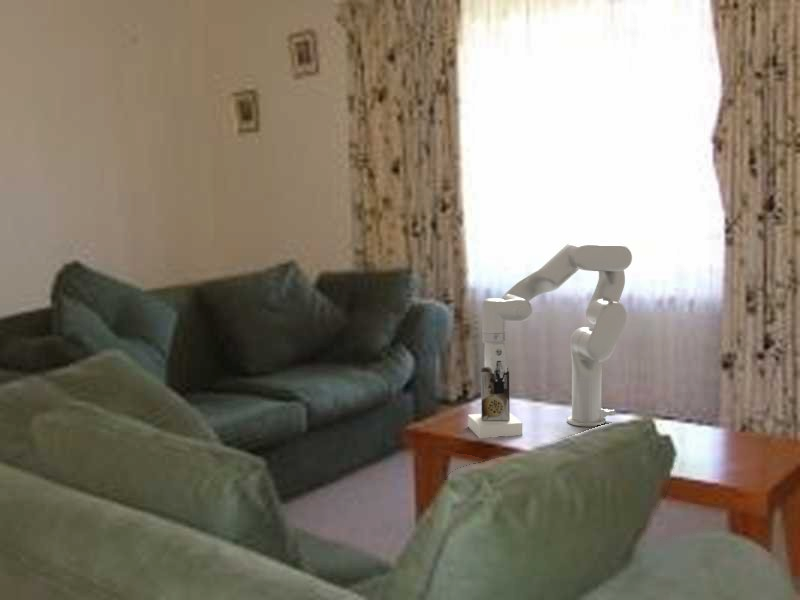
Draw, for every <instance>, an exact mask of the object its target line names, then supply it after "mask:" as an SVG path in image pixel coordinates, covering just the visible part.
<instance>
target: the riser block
mask: <svg viewBox="0 0 800 600" xmlns="http://www.w3.org/2000/svg"><path fill="white" fill-rule="evenodd" d="M467 424H468V428H469V429H470V430H471V431H472V432H473V433H474V434H475V436H477V437H478V439H489V437H492V438H499V437H498V436H505V437H515V436H516V435H518V436H523V422H522V421H520V419H519V418H517V417H516V416H515V415H513V414H512V412H510V420H482V417H481V413H475V414H474V413H473V414H472V413H471V414H467Z"/></svg>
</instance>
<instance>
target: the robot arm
mask: <svg viewBox="0 0 800 600" xmlns="http://www.w3.org/2000/svg"><path fill="white" fill-rule="evenodd" d="M632 261H633V254H632V252H631V250H630V249H629V247H628V246H626V245H622V244H621V243H619V244H618V243H614V242H608V241H607V242H606V241H604V242H599V243H596V244H595V243H586V242H582V241H572V242H571V241H570V242H569V243H567V244H566V245H565V246H564V247H562V248H561V249H560V250H559V251H558V252H557V253H556V254H555V255H554V256H552V258H550V259H549V261H547V262H545V264H544V265H543V266H542V267H541V268H539V269H538V270H536V271H535V272H532V273H531V274H529V275H527V276H526V277H525V278H522V279H521V280H520V281H518V282H517V283H515V284H514V285H513V286H512V287H510V289H509V290H508V291H507V292H506V293H505V294H504V295H502V297H501V298H498V297H497V298H496V297H493V298H491V297H489V298H485V299H484V300H482V303H481V316H482V317H481V323H482V325H481V328H482V329H481V332H482V333H481V334H482V338H481V339H482V340H481V341H482V343H483V344H484V348H483V349H484V350H483V352H484V353H483V354H484V355H483V359H484V361H483V362H484V368H486V369H487V370H488V371H490V373H492V374H494V379H495V381H494V393H495V394H501V393H504V374H505V373H506V372H507V368H508V367H507V354H506V353H507V352H506V342H507V322H518V323H519V322H524V321H527V320H528V319H529V318H530V317H531V316H532V314H533V307H532V304H531V303H530V301H532V300H533V299H535V298H536V297H538V296H540V295H543V294H546V293H550V292H553V291H556V290H558V289H559V288H560V287H561V286H563V285H564V283H566V282H567V281H568V280H569V279H570V278H571V277H573V276H574V275H575V274H576V273H577V272H578V271H579V270H582V271H590V272H592V271H593V272H598V281H597V283H596V286H595V289H594V292H593V294H592V295H591V297H590V300H589V303H588V305H587V308H586V310H585V317H586V319H587V321H589V323H591V324H592V325H594V326H593V328H592V327H588V326H582V327H579V328H577V329H576V330H574V331H573V333H571V336H570V339H569V349H570V351H569V352H570V355H571V372H572V373H571V414H570V415H569V416H567V417H566V421H567V423H568V424H570V425H573V426H576V427H587V428H588V427H589V428H590V427H591V428H592V427H594V428H595V427H598V426H597V425H600V424H603V425H605V424H606V423H605V421H606V422H607V419H606V418H607V416H609V417H612V416H614V417H615V416H616V410H615V409H609V408H603V407H602V376H603V375H602V373H603V372H602V362H605V361H606V360H608V359H610V357H611V356H612V354H613V353H614V351H615V349H616V346H617V345H618V342H619V340H620V338H621V336H622V334H623V331H624V328H625V325H626V323H627V318H628V317H627V315H628V314H627V310H626V307H624V305H623V304H622V303H621V302H620V300H621V297H622V294H623V291H624V288H625V284H626V276H625V270H627V269H628V268H629V267H630V265H631V263H632ZM496 371H499V372H496ZM504 372H505V373H504ZM604 423H605V424H604ZM600 426H601V425H600Z"/></svg>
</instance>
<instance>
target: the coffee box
mask: <svg viewBox="0 0 800 600" xmlns="http://www.w3.org/2000/svg"><path fill="white" fill-rule="evenodd" d="M496 372H499V371H496ZM504 373H505V372H504ZM494 381H495V379H494V374H492V373H490V371H488V370H487V369H486V368H485V367H481V369H480V387H481V388H480V391H481V392H480V395H481V399H480V401H481V403H480V404H481V410H480V411H481V413H480V414H481V417H482V420H510V413H511V411H510V410H511V408H510V369H509V367H507V372H506V373H505V374H504V393H501V394H495V393H494Z"/></svg>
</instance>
